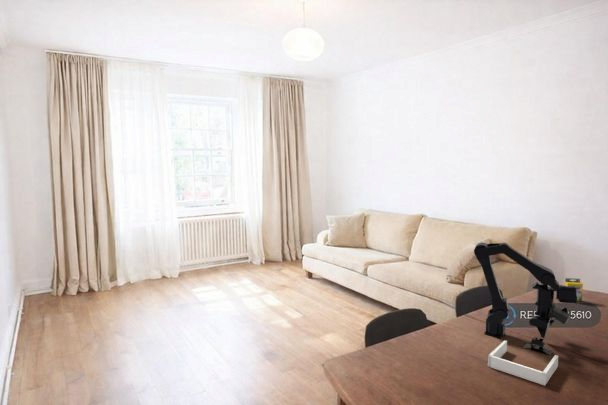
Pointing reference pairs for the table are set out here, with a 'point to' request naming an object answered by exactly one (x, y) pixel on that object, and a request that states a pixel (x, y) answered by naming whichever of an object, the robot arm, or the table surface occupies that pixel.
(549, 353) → the build plate
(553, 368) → the box
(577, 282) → the crayon box
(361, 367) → the table surface
